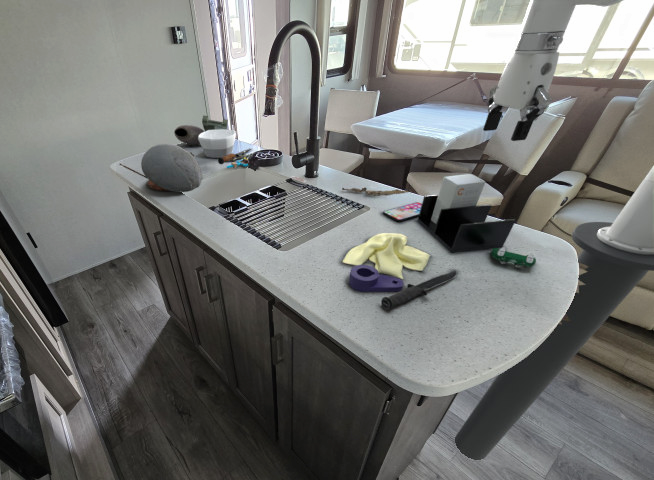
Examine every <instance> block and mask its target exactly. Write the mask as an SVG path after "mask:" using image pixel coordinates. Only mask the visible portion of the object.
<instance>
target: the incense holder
mask: <svg viewBox="0 0 654 480" xmlns="http://www.w3.org/2000/svg"><path fill="white" fill-rule="evenodd" d="M119 166H122V167H123V168H125V169H127V170H129V171H131V172H133V173H135V174H137V175H139V176H141V177H143V178H146V179H147V186H148V187H149V188H150V189H152V190H155V191H163V192H170V190H167V189H164V188H162V187H160V186H158V185H156V184H154V183H153V182H151V181H150V180H149V179H148V178H147V177H146V176H145V175H144V174H143V173H140V172H138V171H136V170H135V169H132V168H130V167H129V166H126V165H124V164H122V163H119Z"/></svg>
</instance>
